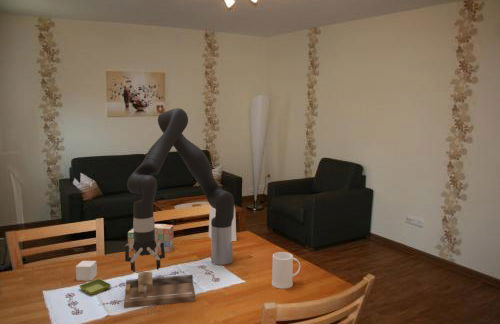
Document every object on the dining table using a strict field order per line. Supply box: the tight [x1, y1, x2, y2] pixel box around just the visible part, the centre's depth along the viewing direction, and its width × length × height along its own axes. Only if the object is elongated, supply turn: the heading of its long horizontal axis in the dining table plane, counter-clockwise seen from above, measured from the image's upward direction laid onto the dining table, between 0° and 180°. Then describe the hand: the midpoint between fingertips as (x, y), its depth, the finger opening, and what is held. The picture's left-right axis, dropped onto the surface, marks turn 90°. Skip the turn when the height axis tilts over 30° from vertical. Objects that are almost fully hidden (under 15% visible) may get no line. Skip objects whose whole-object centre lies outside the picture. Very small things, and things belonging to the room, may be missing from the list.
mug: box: [271, 251, 301, 290], centre depth 160 cm, size 12×8×12 cm
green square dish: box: [78, 278, 112, 295], centre depth 154 cm, size 9×9×2 cm
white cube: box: [75, 260, 98, 282], centre depth 164 cm, size 6×6×6 cm
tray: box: [123, 274, 196, 309], centre depth 149 cm, size 25×13×4 cm, turn 103°
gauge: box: [137, 271, 153, 297], centre depth 147 cm, size 5×9×6 cm, turn 13°
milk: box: [208, 204, 237, 242], centre depth 211 cm, size 12×12×26 cm
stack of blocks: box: [127, 223, 175, 254], centre depth 196 cm, size 21×6×12 cm, turn 83°
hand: (145, 270), depth 149 cm, fingers open, 8 cm apart
